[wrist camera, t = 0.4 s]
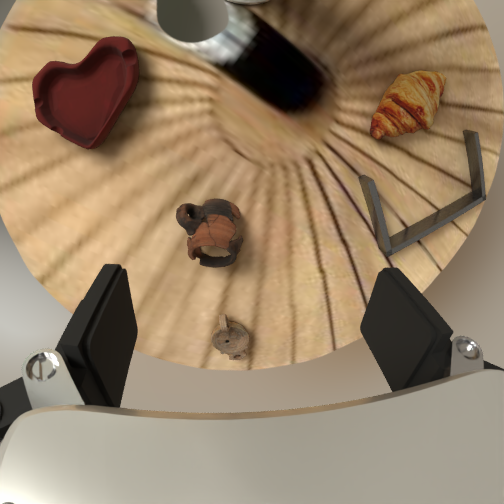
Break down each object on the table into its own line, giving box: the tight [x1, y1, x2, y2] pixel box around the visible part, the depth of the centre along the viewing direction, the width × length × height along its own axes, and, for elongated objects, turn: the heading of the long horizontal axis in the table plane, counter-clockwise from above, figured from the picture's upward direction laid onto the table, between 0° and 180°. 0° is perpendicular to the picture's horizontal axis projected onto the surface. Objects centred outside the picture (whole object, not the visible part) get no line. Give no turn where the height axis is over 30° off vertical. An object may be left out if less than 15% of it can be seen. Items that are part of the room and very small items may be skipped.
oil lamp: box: [211, 314, 249, 360], centre depth 55 cm, size 13×8×5 cm, turn 8°
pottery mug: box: [176, 199, 243, 267], centre depth 44 cm, size 12×10×8 cm
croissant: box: [370, 70, 446, 140], centre depth 37 cm, size 21×10×8 cm, turn 133°
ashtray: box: [32, 36, 139, 149], centre depth 33 cm, size 18×16×5 cm
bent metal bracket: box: [358, 130, 486, 257], centre depth 46 cm, size 15×28×4 cm, turn 116°
